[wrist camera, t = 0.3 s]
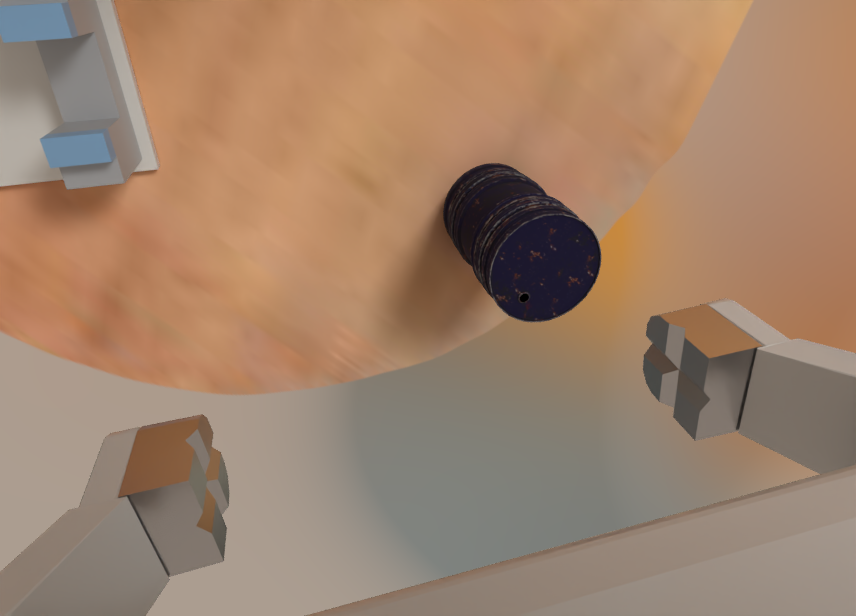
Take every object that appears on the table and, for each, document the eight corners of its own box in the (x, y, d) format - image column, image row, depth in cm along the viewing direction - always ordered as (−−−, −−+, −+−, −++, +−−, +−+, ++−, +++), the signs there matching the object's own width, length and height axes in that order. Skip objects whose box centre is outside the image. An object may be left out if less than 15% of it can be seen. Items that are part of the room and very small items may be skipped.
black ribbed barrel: (482, 142, 57) (542, 188, 44) (552, 194, 61) (625, 250, 49) (423, 225, 60) (463, 291, 47) (494, 269, 64) (549, 341, 51)
